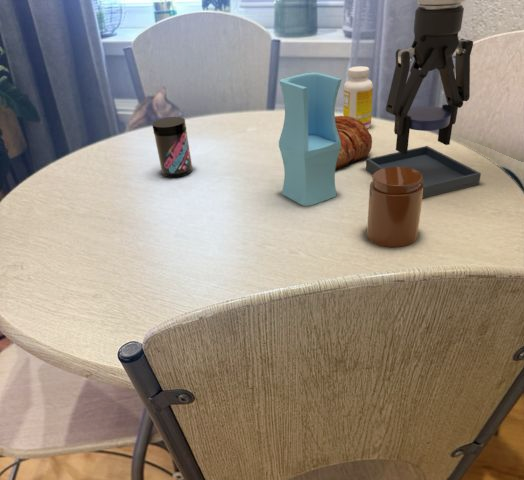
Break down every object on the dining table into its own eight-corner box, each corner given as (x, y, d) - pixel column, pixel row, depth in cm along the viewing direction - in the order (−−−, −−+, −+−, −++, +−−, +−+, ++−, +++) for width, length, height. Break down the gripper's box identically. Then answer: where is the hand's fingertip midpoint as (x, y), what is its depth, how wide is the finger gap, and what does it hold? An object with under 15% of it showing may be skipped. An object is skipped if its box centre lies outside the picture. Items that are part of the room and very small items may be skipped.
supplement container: (158, 179, 112) (148, 128, 106) (165, 167, 118) (155, 117, 111) (190, 177, 112) (182, 126, 105) (195, 165, 117) (187, 115, 110)
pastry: (390, 163, 110) (393, 123, 105) (319, 175, 108) (319, 135, 102) (359, 138, 122) (360, 101, 117) (295, 148, 120) (294, 111, 115)
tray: (479, 184, 99) (481, 173, 97) (412, 200, 96) (413, 189, 94) (425, 155, 111) (427, 145, 110) (365, 169, 108) (366, 159, 107)
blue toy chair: (305, 207, 97) (302, 88, 84) (281, 193, 102) (275, 80, 89) (339, 195, 100) (342, 78, 87) (314, 182, 105) (313, 71, 92)
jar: (427, 239, 84) (435, 179, 78) (382, 251, 83) (387, 190, 76) (400, 219, 90) (405, 162, 84) (358, 230, 88) (360, 172, 82)
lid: (392, 120, 100) (393, 111, 98) (431, 112, 101) (432, 103, 100) (417, 133, 93) (419, 123, 92) (459, 125, 95) (460, 115, 94)
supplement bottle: (375, 124, 129) (378, 65, 121) (363, 132, 125) (366, 72, 117) (350, 121, 132) (351, 64, 124) (338, 129, 128) (339, 71, 120)
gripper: (480, -6, 91) (458, 131, 105) (369, 11, 86) (362, 151, 100) (510, -1, 85) (483, 142, 100) (394, 16, 80) (383, 164, 95)
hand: (422, 147), depth 100 cm, fingers closed on lid, 8 cm apart
